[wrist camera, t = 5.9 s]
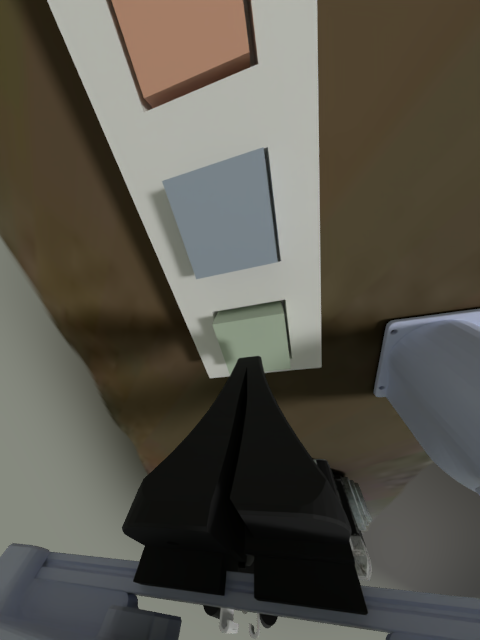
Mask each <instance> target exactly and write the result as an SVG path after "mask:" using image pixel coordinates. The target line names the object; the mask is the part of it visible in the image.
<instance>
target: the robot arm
mask: <svg viewBox="0 0 480 640" xmlns="http://www.w3.org/2000/svg"><path fill="white" fill-rule="evenodd" d="M392 330H394V331H393V332H391V331H392ZM373 393H374V394H375V396H377V397H387V399H388V400H389V402H390V403H391V404H392V406H393V407H394V409H395V410H396V411H397V413H398V414H399V416H400V417H401V418H402V420H403V421H404V422H405V424H406V425H407V427H408V428H409V429H410V431H411V432H412V434H413V435H414V436H415V438H416V439H417V441H418V442H419V443H420V445H421V446H422V448H423V449H424V450H425V452H426V453H427V454H428V456H429V457H430V458H431V459H432V460H433V461H434V462H435V463H436V464H437V465H438V466H439V467H440V468H441V469H442V470H443V471H444V472H446V473H447V474H448V475H449V476H451V477H452V478H454V479H455V480H456V481H458V482H459V483H461V484H462V485H464V486H466V487H467V488H469V489H471V490H473V491H475V492H477V493H478V494H479V496H480V309H473V310H465V311H458V312H450V313H443V314H435V315H428V316H420V317H413V318H406V319H398V320H392V321H390V322H388V323H387V325H386V328H385V333H384V339H383V344H382V349H381V354H380V360H379V365H378V370H377V376H376V381H375V386H374V391H373ZM122 530H123V532H124V534H126V535H127V536H129V537H130V538H132V539H134V540H136V541H138V542H139V543H141V544H143V545H145V547H144V550H143V553H142V556H141V559H140V561H130V560H120V559H111V558H103V557H93V556H84V555H75V554H66V553H57V552H49V550H48V549H45V548H42V547H38V546H33V545H25V544H15V543H13V544H11V545H9V546H8V548H7V549H6V550H5V552H4V553H3V554H2V556H1V557H0V640H178V637H179V632H180V627H181V617H177V616H172V615H167V614H162V613H157V612H152V611H146V610H140V609H139V608H138V599H137V596H136V595H139V596H146V597H153V598H159V599H166V600H173V601H179V602H186V603H193V604H200V605H206V606H213V607H220V608H226V609H233V610H240V611H246V612H253V613H260V614H267V615H273V616H280V617H287V618H294V619H300V620H307V621H313V622H320V623H327V624H334V625H340V626H347V627H354V628H360V629H367V630H374V631H381V632H387V633H390V634H388V635H387V637H386V640H480V599H478V598H470V597H460V596H452V595H442V594H433V593H424V592H415V591H406V590H396V589H387V588H378V587H369V586H361V585H360V582H359V578H358V575H357V571H356V568H355V559H354V556H353V552H352V549H351V545H350V542H349V541H350V536H351V532H352V531H351V526H350V523H349V521H348V518H347V516H346V513H345V511H344V509H343V507H342V505H341V503H340V501H339V500H338V498H337V496H336V494H335V492H334V491H333V489H332V487H331V485H330V483H329V481H328V480H327V478H326V476H325V475H324V474H323V472H322V471H321V470H320V468H319V467H318V466H317V464H316V463H315V462H314V460H313V459H312V457H311V456H310V455H309V453H308V452H307V450H306V449H305V448H304V446H303V445H302V443H301V442H300V440H299V439H298V437H297V436H296V434H295V433H294V431H293V429H292V428H291V426H290V425H289V423H288V422H287V420H286V418H285V417H284V415H283V413H282V411H281V410H280V408H279V406H278V404H277V402H276V400H275V398H274V396H273V394H272V392H271V390H270V387H269V385H268V383H267V380H266V377H265V373H264V368H263V364H262V359H261V357H260V356H252V357H244V358H239V359H238V360H237V363H236V365H235V367H234V369H233V371H232V373H231V375H230V377H229V378H228V380H227V382H226V384H225V386H224V387H223V389H222V390H221V392H220V394H219V395H218V397H217V398H216V400H215V401H214V403H213V404H212V406H211V407H210V409H209V410H208V411H207V413H206V414H205V415H204V417H203V418H202V419H201V420H200V422H199V423H198V424H197V425H196V427H195V428H194V429H193V430H192V431H191V432H190V434H189V435H188V436H187V437H186V438H185V439H184V440H183V441H182V442H181V443H180V444H179V445H178V446H177V448H176V449H175V450H174V451H173V452H172V453H171V454H170V455H169V456H168V457H167V458H166V459H165V460H164V461H162V462H161V463H160V464H159V465H158V466H157V467H156V468H155V469H154V470H153V471H152V472H151V473H150V474H149V475H147V476H146V477H145V478H144V479H143V482H142V483H141V486H140V487H139V489H138V492H137V494H136V496H135V499H134V501H133V503H132V506H131V508H130V510H129V513H128V515H127V517H126V520H125V522H124V524H123V527H122ZM253 561H254V574H250V573H241V572H238V568H241V569H246V566H250V565H251V564H252V562H253Z"/></svg>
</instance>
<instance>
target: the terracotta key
mask: <svg viewBox="0 0 480 640" xmlns="http://www.w3.org/2000/svg"><path fill="white" fill-rule="evenodd" d="M112 3H113V6H114V9H115V12H116V15H117V19H118V22H119V25H120V28H121V31H122V34H123V37H124V40H125V43H126V46H127V49H128V52H129V55H130V58H131V61H132V64H133V67H134V70H135V73H136V76H137V79H138V82H139V85H140V88H141V91H142V94H143V97H144V99H145V100H146V101H147V102H148V103H149V104H150V105H151V106H152V107H153V108H155V107H158V106H160V105H162V104H165V103H167V102H170V101H172V100H174V99H177V98H179V97H181V96H184V95H186V94H188V93H191V92H193V91H195V90H198V89H200V88H203V87H205V86H207V85H210V84H212V83H214V82H217V81H219V80H221V79H224V78H226V77H228V76H231V75H233V74H236V73H238V72H240V71H243V70H245V69H247V68H250V51H249V43H248V36H247V28H246V20H245V12H244V4H243V0H112Z"/></svg>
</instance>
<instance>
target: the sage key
mask: <svg viewBox="0 0 480 640" xmlns="http://www.w3.org/2000/svg"><path fill="white" fill-rule="evenodd" d="M212 325H213V328H214V331H215V334H216V337H217V339H218V342H219V345H220V348H221V351H222V354H223V357H224V359H225V362H226V365H227V368H228V371H229V374H230V375H231V373H232V371H233V369H234V367H235V365H236V363H237V360H238V359H239V358H244V357H252V356H260V357H261V359H262V364H263V368H264V371H274V370H284V369H291V366H290V358H289V350H288V342H287V333H286V325H285V317H284V311H283V308H282V304H281V301H276V302H270V303H264V304H258V305H252V306H246V307H240V308H235V309H229V310H223V311H218V313H217V315H216V317H215V319H214V322H213V324H212Z"/></svg>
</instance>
